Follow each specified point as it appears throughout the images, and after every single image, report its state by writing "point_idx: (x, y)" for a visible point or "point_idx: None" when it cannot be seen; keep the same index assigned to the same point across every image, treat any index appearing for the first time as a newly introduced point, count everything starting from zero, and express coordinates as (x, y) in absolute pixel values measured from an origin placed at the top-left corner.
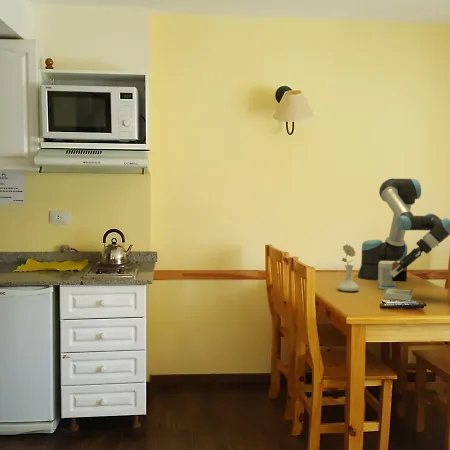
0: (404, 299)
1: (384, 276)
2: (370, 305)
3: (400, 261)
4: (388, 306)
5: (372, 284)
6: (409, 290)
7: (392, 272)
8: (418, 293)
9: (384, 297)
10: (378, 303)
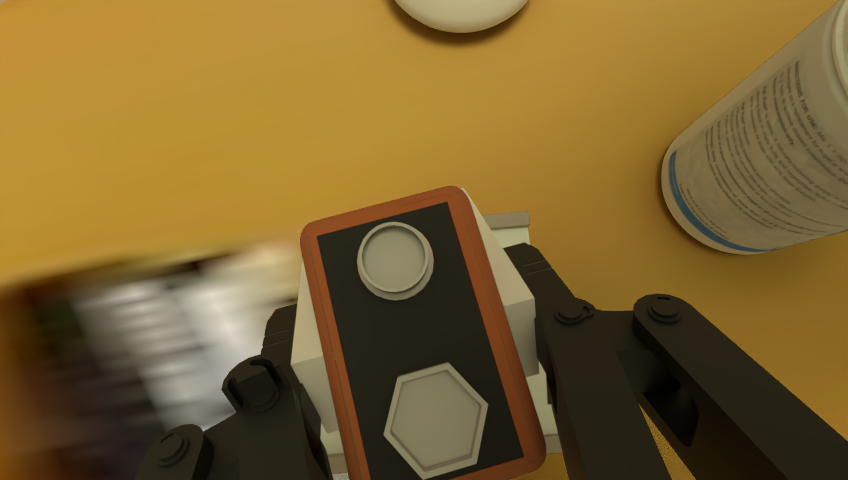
0: None
1: (731, 128)
2: (55, 213)
3: (634, 314)
4: (73, 331)
5: None
6: (547, 419)
7: None
8: None
9: None
10: (142, 247)
